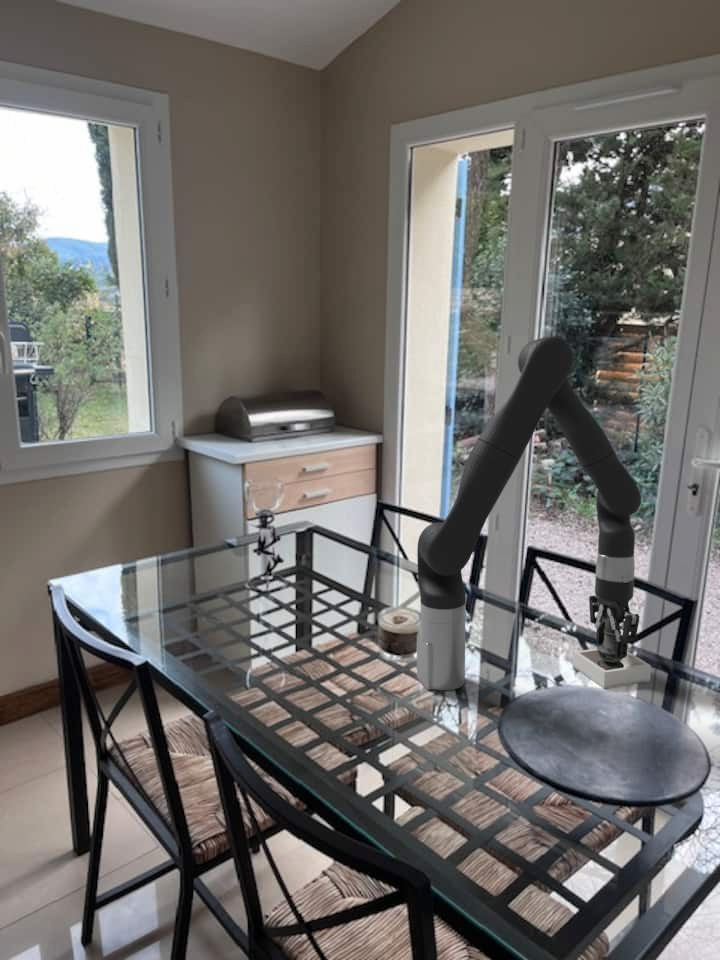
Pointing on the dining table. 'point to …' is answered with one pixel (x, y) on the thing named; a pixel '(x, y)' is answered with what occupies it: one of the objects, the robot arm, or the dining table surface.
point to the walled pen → (605, 678)
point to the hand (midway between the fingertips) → (611, 651)
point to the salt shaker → (609, 649)
